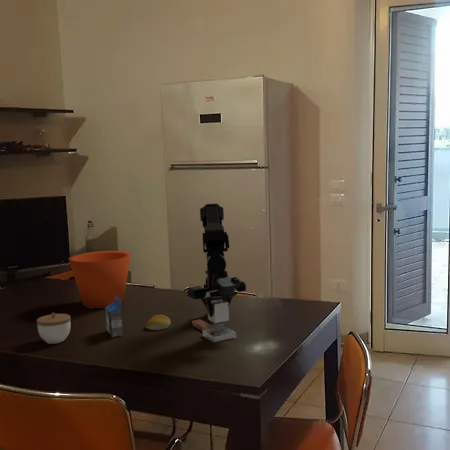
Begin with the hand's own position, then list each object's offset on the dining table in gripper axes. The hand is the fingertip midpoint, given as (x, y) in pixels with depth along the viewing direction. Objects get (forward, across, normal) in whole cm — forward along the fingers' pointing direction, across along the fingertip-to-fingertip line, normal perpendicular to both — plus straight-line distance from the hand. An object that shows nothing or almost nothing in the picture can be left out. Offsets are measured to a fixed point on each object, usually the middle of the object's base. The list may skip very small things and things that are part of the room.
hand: (218, 315), depth 189 cm
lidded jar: (+8, -46, +29) cm, 55 cm away
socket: (+2, 0, 0) cm, 2 cm away
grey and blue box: (+8, -27, +25) cm, 37 cm away
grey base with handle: (+7, 0, +6) cm, 10 cm away
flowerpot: (+8, -18, +68) cm, 71 cm away
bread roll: (+8, -12, +23) cm, 27 cm away
